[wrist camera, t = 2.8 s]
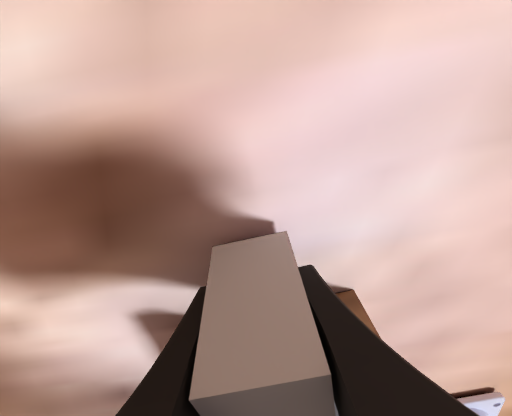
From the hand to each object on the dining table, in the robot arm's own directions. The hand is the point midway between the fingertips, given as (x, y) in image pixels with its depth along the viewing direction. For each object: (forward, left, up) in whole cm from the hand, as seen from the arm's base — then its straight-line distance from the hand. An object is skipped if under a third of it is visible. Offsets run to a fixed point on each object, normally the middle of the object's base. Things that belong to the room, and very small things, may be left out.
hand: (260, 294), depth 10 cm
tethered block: (-4, 0, -2) cm, 4 cm away
